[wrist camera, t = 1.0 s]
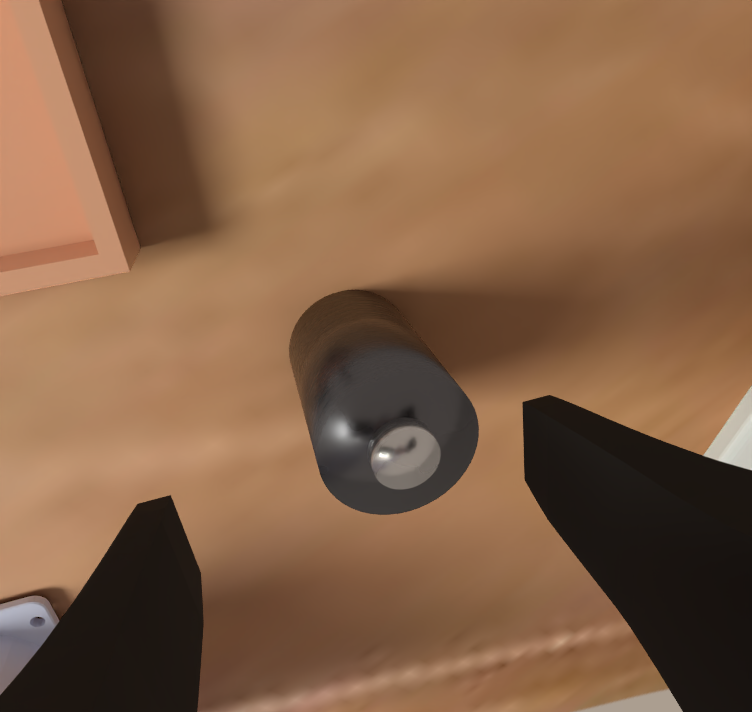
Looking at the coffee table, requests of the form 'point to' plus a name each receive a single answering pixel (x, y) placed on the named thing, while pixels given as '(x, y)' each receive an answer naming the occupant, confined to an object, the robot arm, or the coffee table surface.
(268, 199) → the coffee table surface
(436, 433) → the cell
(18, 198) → the dish
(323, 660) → the coffee table surface
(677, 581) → the robot arm
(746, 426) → the external hard drive
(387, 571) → the coffee table surface
